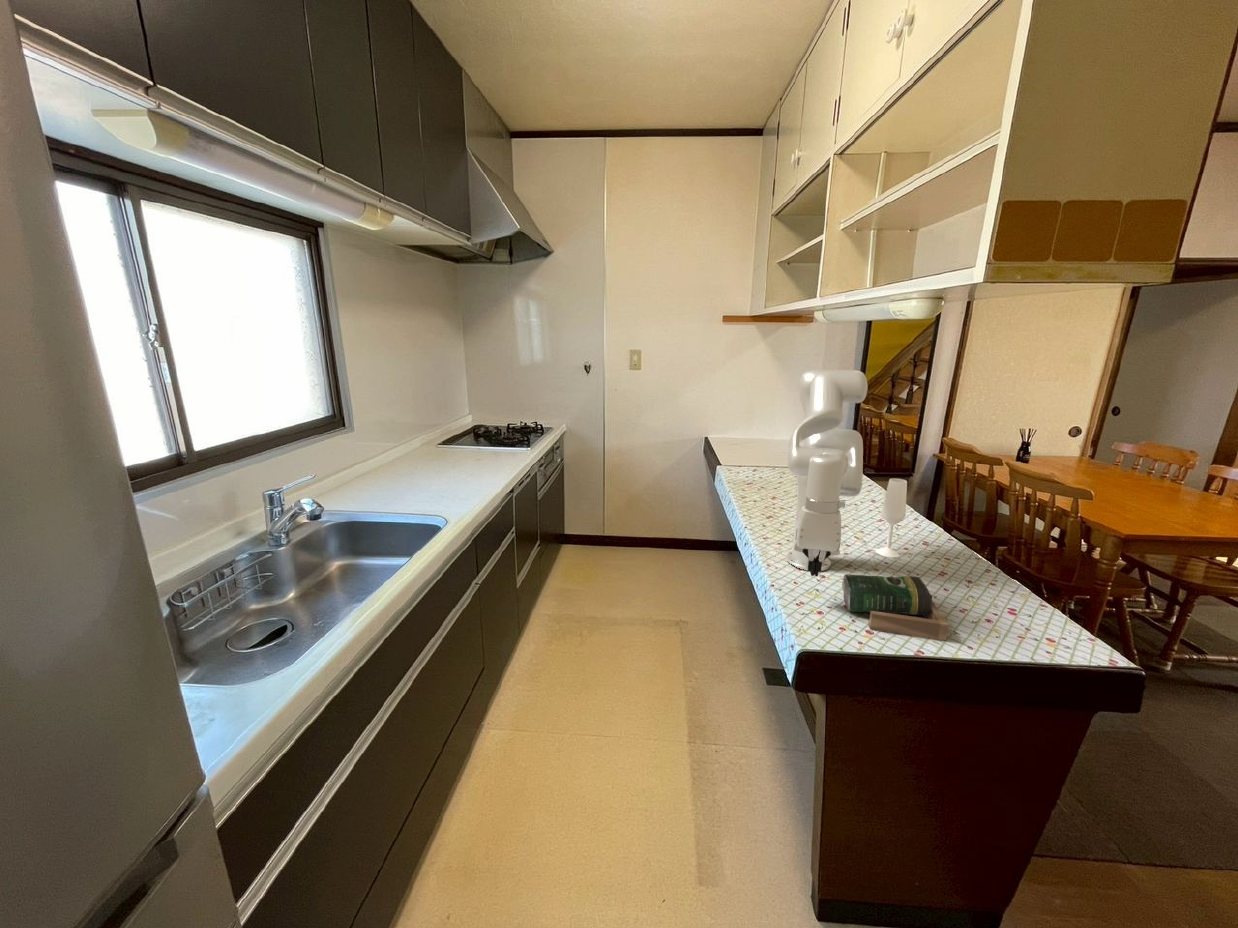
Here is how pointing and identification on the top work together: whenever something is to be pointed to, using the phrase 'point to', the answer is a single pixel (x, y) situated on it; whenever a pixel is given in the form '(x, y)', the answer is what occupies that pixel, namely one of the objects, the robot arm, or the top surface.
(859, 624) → the top surface
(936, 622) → the display stand
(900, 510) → the champagne flute
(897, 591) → the coffee jar
